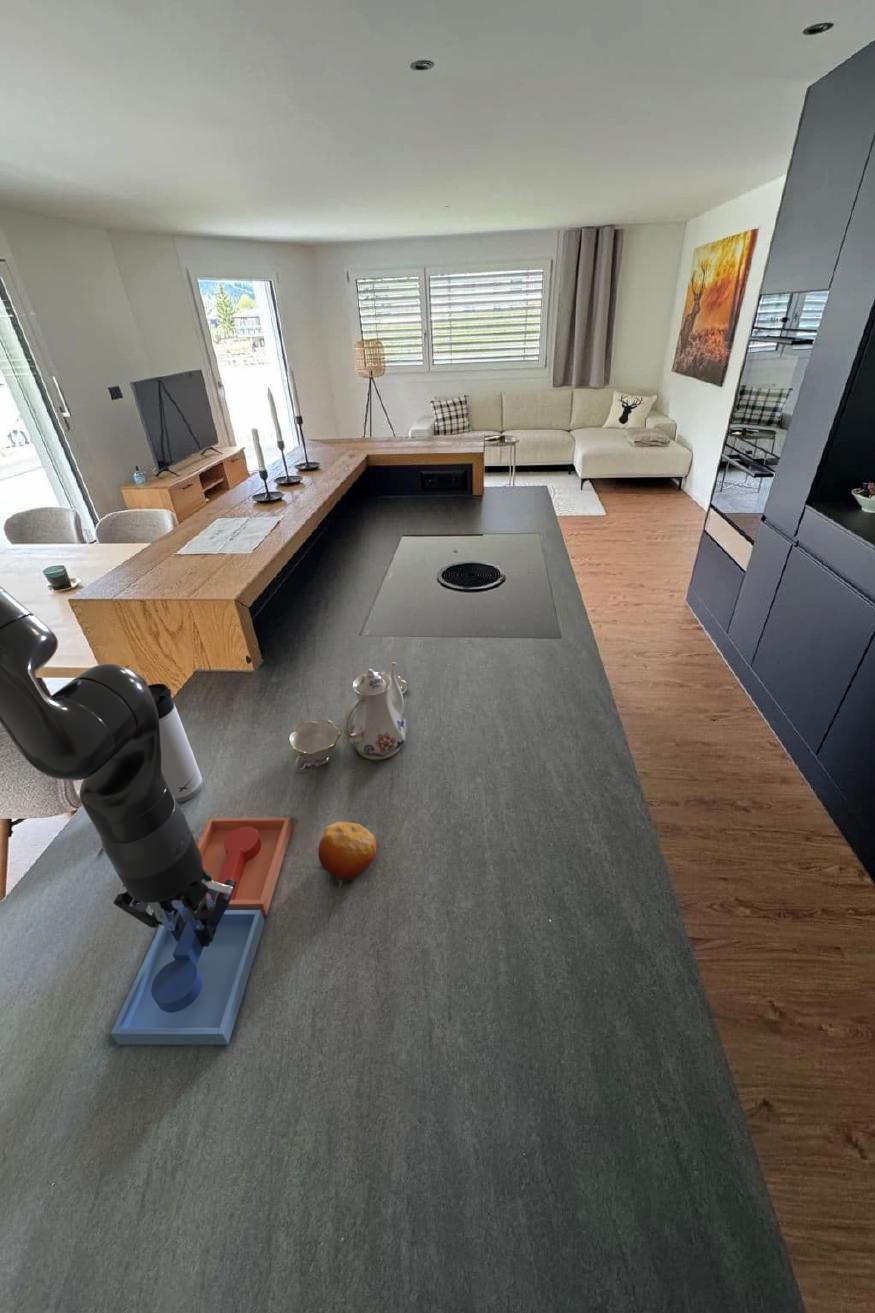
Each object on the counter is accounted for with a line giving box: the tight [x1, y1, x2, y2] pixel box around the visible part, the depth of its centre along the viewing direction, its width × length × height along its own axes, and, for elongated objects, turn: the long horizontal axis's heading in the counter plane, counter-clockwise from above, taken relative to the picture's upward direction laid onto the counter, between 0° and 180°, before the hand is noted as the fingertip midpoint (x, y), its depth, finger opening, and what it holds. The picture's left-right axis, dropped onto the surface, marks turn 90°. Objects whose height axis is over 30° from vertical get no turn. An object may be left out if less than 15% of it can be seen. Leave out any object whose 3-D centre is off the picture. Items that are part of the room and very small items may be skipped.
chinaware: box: [287, 662, 409, 772], centre depth 97 cm, size 28×17×17 cm, turn 150°
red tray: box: [197, 816, 293, 916], centre depth 78 cm, size 12×14×2 cm
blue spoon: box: [151, 898, 213, 1013], centre depth 64 cm, size 12×5×3 cm, turn 179°
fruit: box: [317, 821, 377, 890], centre depth 77 cm, size 8×8×8 cm
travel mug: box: [147, 683, 204, 803], centre depth 87 cm, size 6×7×20 cm
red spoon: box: [217, 827, 261, 900], centre depth 77 cm, size 12×5×3 cm, turn 1°
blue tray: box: [110, 910, 266, 1046], centre depth 65 cm, size 12×14×2 cm
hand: (198, 939), depth 66 cm, fingers closed on blue spoon, 2 cm apart
